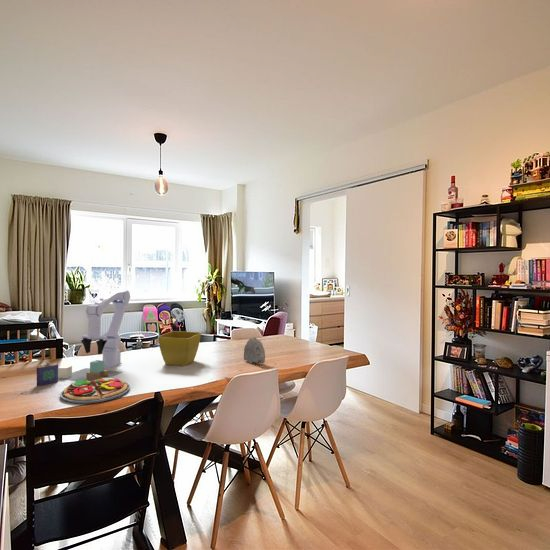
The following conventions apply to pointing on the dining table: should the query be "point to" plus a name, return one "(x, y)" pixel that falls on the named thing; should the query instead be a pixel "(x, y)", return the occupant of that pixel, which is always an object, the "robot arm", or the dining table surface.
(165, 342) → the flower pot
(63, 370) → the cream block
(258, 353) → the decorative rock
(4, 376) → the dining table surface
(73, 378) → the mat
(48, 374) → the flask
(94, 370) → the teal block
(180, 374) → the dining table surface
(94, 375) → the walnut base
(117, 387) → the toy pizza
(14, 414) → the dining table surface
